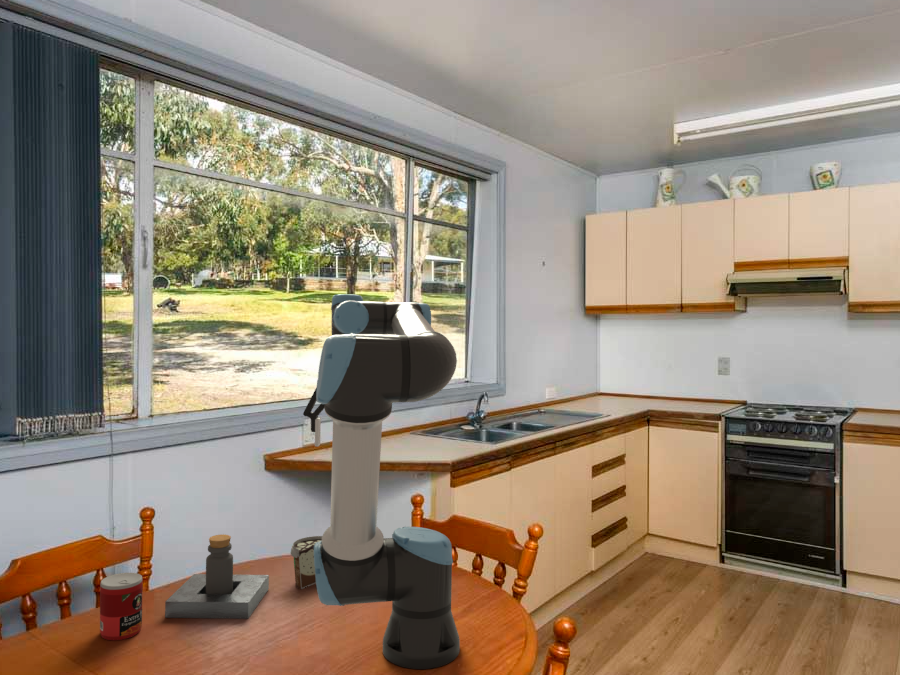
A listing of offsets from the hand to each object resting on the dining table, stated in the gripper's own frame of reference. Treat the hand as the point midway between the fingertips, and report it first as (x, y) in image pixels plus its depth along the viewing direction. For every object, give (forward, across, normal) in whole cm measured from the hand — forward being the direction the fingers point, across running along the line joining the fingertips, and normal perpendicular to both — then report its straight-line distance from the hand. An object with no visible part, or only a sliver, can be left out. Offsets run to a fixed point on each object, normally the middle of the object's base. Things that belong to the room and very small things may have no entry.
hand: (345, 446), depth 158 cm
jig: (+35, +27, +9) cm, 45 cm away
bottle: (+35, +27, +9) cm, 45 cm away
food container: (+35, +10, -5) cm, 37 cm away
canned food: (+35, +42, +24) cm, 60 cm away
